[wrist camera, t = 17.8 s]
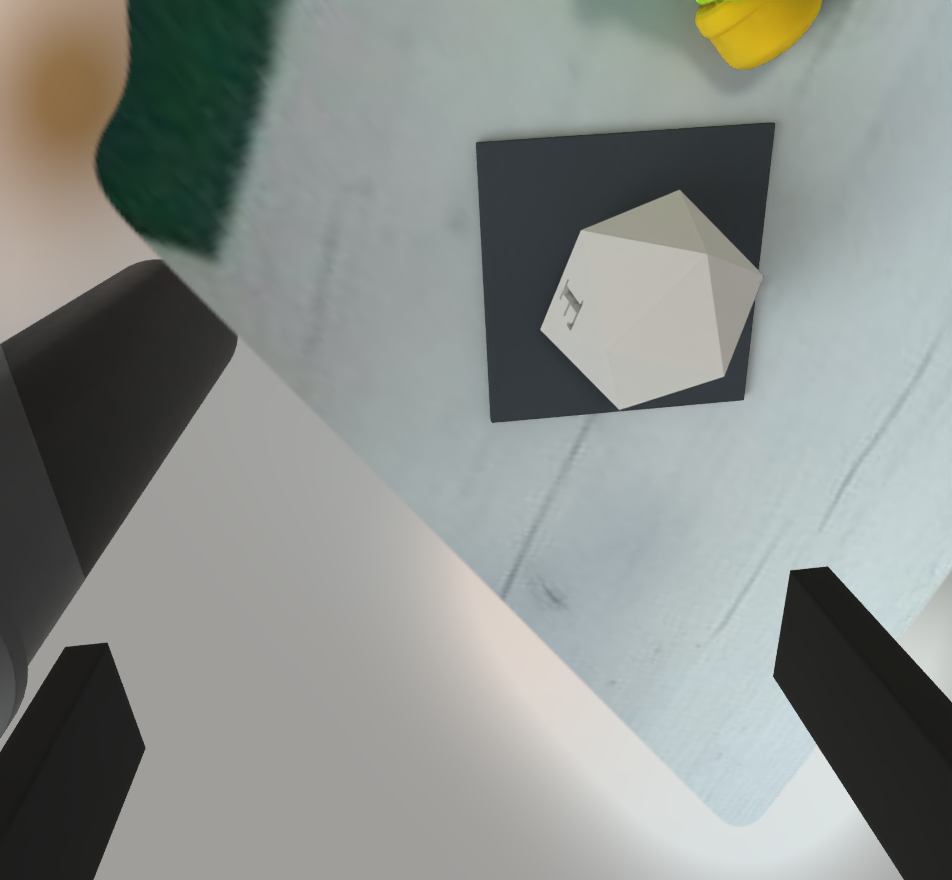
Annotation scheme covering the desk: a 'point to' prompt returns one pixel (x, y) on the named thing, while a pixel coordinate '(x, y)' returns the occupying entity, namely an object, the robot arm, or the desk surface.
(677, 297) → the die
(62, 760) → the robot arm
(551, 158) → the mat
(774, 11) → the turtle toy
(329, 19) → the desk surface
